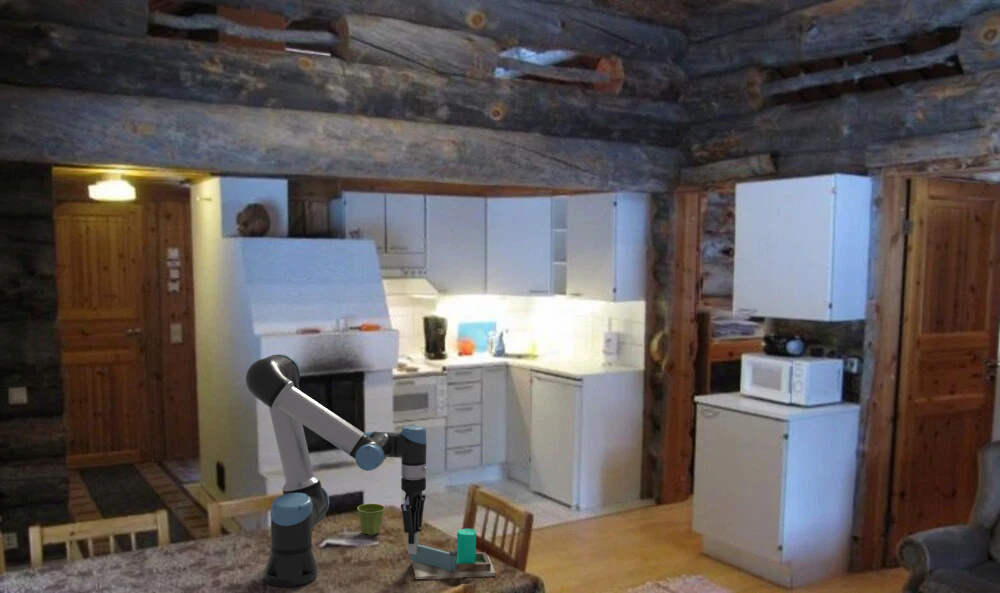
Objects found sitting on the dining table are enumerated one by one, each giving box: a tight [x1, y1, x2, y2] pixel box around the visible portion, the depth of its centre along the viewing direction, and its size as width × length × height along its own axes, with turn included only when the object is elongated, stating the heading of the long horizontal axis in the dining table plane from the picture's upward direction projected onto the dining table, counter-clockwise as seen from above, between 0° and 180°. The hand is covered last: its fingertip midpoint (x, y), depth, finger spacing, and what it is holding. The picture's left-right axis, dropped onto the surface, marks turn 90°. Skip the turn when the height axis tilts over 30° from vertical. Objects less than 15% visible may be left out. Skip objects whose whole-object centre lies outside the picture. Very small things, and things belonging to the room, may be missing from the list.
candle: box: [456, 528, 477, 564], centre depth 249 cm, size 6×6×12 cm
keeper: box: [409, 543, 458, 572], centre depth 248 cm, size 2×17×6 cm, turn 57°
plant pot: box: [357, 503, 386, 536], centre depth 279 cm, size 9×9×9 cm
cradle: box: [411, 551, 497, 580], centre depth 248 cm, size 24×14×3 cm, turn 100°
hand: (412, 553), depth 250 cm, fingers closed
